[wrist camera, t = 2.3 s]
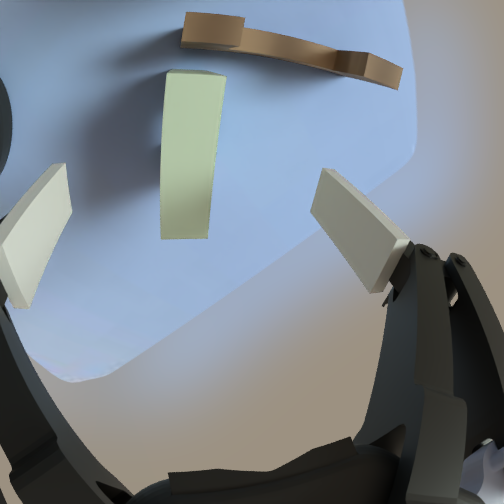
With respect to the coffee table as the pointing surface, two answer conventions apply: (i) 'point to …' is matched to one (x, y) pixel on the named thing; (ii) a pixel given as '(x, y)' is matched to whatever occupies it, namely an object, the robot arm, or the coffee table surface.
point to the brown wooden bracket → (284, 48)
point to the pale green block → (189, 151)
